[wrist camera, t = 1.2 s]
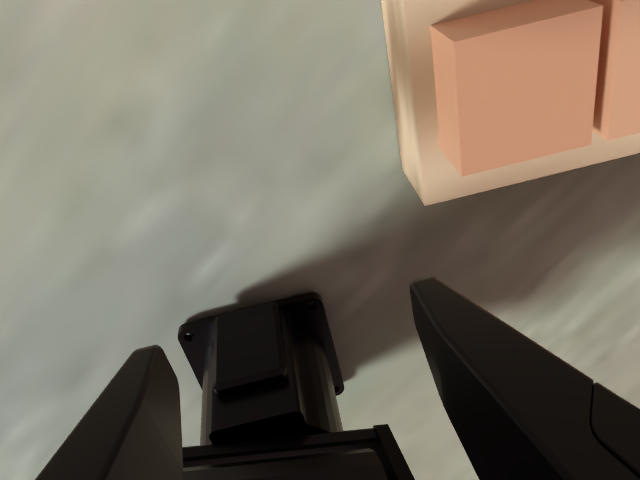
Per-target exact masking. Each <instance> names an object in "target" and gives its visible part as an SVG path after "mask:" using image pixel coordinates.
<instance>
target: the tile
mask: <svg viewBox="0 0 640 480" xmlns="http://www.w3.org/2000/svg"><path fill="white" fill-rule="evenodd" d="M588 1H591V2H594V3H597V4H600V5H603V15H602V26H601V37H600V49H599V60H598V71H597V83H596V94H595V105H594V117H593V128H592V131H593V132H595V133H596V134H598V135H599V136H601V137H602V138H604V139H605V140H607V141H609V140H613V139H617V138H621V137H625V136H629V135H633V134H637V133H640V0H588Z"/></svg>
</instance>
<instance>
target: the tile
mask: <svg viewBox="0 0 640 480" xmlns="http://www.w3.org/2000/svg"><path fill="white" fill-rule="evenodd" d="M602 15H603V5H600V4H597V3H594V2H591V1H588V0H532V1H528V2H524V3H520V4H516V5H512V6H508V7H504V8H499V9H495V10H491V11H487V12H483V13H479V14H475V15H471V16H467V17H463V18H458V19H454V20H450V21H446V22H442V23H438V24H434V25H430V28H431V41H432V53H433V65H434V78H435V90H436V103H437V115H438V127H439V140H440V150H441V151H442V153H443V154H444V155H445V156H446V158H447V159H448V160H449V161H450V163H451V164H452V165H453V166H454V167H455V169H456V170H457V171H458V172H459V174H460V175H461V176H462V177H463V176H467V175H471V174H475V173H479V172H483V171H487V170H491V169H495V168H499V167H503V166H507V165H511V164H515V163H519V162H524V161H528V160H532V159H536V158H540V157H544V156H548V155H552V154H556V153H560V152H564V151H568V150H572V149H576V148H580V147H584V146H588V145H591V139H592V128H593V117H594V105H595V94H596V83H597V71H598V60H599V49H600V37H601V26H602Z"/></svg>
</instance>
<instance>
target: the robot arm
mask: <svg viewBox="0 0 640 480" xmlns="http://www.w3.org/2000/svg"><path fill="white" fill-rule="evenodd" d="M410 294H411V301H412V309H413V316H414V321H415V325H416V329H417V332H418V335H419V338H420V340H421V343H422V346H423V349H424V352H425V355H426V358H427V361H428V364H429V366H430V369H431V372H432V375H433V378H434V381H435V384H436V387H437V390H438V392H439V395H440V398H441V400H442V403H443V406H444V408H445V410H446V412H447V414H448V417H449V419H450V421H451V423H452V425H453V427H454V429H455V431H456V433H457V435H458V437H459V439H460V441H461V443H462V445H463V447H464V449H465V451H466V453H467V455H468V457H469V459H470V461H471V464H472V466H473V468H474V470H475V472H476V474H477V476H478V478H479V480H640V409H639V408H637V407H636V406H634V405H632V404H631V403H629V402H628V401H626V400H624V399H623V398H621V397H619V396H618V395H616V394H615V393H613V392H612V391H610V390H609V389H607V388H605V387H604V386H602V385H601V384H599V383H594V382H593V379H591V378H590V377H588V376H587V375H585V374H583V373H582V372H580V371H579V370H577V369H576V368H574V367H573V366H571V365H570V364H568V363H566V362H565V361H563V360H562V359H560V358H559V357H557V356H556V355H554V354H553V353H551V352H550V351H548V350H546V349H545V348H543V347H542V346H540V345H539V344H537V343H536V342H534V341H533V340H531V339H529V338H528V337H526V336H525V335H523V334H522V333H520V332H519V331H517V330H516V329H514V328H512V327H511V326H509V325H508V324H506V323H505V322H503V321H502V320H500V319H499V318H497V317H495V316H494V315H492V314H491V313H489V312H488V311H486V310H485V309H483V308H482V307H480V306H478V305H477V304H475V303H474V302H472V301H471V300H469V299H468V298H466V297H465V296H463V295H461V294H460V293H458V292H457V291H455V290H454V289H452V288H451V287H449V286H448V285H446V284H445V283H443V282H441V281H440V280H438V279H437V278H435V277H432V276H431V277H426V278H422V279H418V280H414V281H412V282H411V283H410ZM310 302H314V303H315V304H314V305H307V304H308V303H310ZM186 333H193V335H187V334H186ZM178 340H179V342H180V344H181V346H182V349H183V351H184V353H185V355H186V357H187V359H188V361H189V363H190V365H191V367H192V370H193V372H194V374H195V376H196V378H197V380H198V382H199V384H200V386H201V388H202V390H203V393H202V415H201V437H200V446H190V447H182V433H181V413H180V393H179V384H178V380H177V377H176V375H175V373H174V371H173V369H172V367H171V365H170V363H169V361H168V359H167V357H166V355H165V353H164V351H163V349H162V348H161V347H160V346H158V345H152V346H148V347H144V348H140V349H137V350H135V351H134V352H133V353H132V354H131V355H130V357H129V358H128V359H127V360H126V362H125V363H124V364H123V366H122V367H121V368H120V370H119V371H118V372H117V374H116V375H115V376H114V377H113V379H112V380H111V381H110V383H109V384H108V385H107V387H106V388H105V389H104V390H103V392H102V393H101V394H100V396H99V397H98V398H97V400H96V401H95V402H94V403H93V405H92V406H91V407H90V409H89V410H88V411H87V413H86V414H85V415H84V417H83V418H82V419H81V420H80V422H79V423H78V424H77V426H76V427H75V428H74V430H73V431H72V432H71V433H70V435H69V436H68V437H67V439H66V440H65V441H64V443H63V444H62V445H61V446H60V448H59V449H58V450H57V452H56V453H55V454H54V456H53V457H52V458H51V459H50V461H49V462H48V463H47V465H46V466H45V467H44V469H43V470H42V471H41V473H40V474H39V475H38V476H37V478H36V479H35V480H415V479H414V477H413V475H412V473H411V471H410V469H409V467H408V465H407V463H406V461H405V459H404V456H403V454H402V452H401V450H400V448H399V446H398V444H397V442H396V440H395V438H394V436H393V434H392V432H391V430H390V428H389V426H388V424H384V425H374V426H373V428H369V429H359V430H349V431H343V428H342V423H341V419H340V414H339V409H338V404H337V400H336V396H337V395H340V394H341V393H342V392H343V391H344V384H343V380H342V376H341V372H340V368H339V364H338V360H337V356H336V352H335V349H334V345H333V341H332V337H331V333H330V329H329V325H328V321H327V317H326V314H325V310H324V306H323V302H322V298H321V296H320V295H319V294H317V293H314V292H309V293H304V294H300V295H296V296H292V297H288V298H284V299H280V300H276V301H272V302H268V303H264V304H260V305H256V306H252V307H248V308H244V309H240V310H236V311H232V312H228V313H224V314H220V315H216V316H212V317H208V318H204V319H200V320H196V321H192V322H188V323H185V324H182V325H181V326H180V327H179V330H178ZM593 383H594V385H593Z"/></svg>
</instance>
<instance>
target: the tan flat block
mask: <svg viewBox="0 0 640 480" xmlns="http://www.w3.org/2000/svg"><path fill="white" fill-rule="evenodd" d="M528 1H532V0H381V5H382V13H383V20H384V28H385V36H386V44H387V52H388V60H389V68H390V76H391V84H392V92H393V100H394V108H395V116H396V123H397V131H398V139H399V147H400V155H401V163H402V169H403V171H404V173H405V174H406V176H407V178H408V179H409V181H410V182H411V184H412V186H413V187H414V189H415V190H416V192H417V194H418V195H419V197H420V199H421V200H422V202H423V203H424V205H425V206H427V205H431V204H435V203H439V202H443V201H447V200H451V199H455V198H460V197H464V196H468V195H472V194H476V193H480V192H484V191H488V190H492V189H496V188H500V187H504V186H508V185H512V184H516V183H520V182H524V181H528V180H532V179H536V178H540V177H544V176H548V175H553V174H557V173H561V172H565V171H569V170H573V169H577V168H581V167H585V166H589V165H593V164H597V163H601V162H605V161H609V160H613V159H617V158H621V157H625V156H629V155H633V154H637V153H640V133H637V134H633V135H629V136H625V137H621V138H617V139H613V140H609V141H607V140H605V139H604V138H602V137H601V136H599V135H598V134H596V133H595V132H593V131H592V139H591V145H588V146H584V147H580V148H576V149H572V150H568V151H564V152H560V153H556V154H552V155H548V156H544V157H540V158H536V159H532V160H528V161H524V162H519V163H515V164H511V165H507V166H503V167H499V168H495V169H491V170H487V171H483V172H479V173H475V174H471V175H467V176H463V177H462V176H461V175H460V174H459V172H458V171H457V170H456V169H455V167H454V166H453V165H452V164H451V163H450V161H449V160H448V159H447V158H446V156H445V155H444V154H443V153H442V151H441V150H440V140H439V127H438V115H437V103H436V90H435V78H434V65H433V53H432V41H431V28H430V25H434V24H438V23H442V22H446V21H450V20H454V19H458V18H463V17H467V16H471V15H475V14H479V13H483V12H487V11H491V10H495V9H499V8H504V7H508V6H512V5H516V4H520V3H524V2H528Z"/></svg>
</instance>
